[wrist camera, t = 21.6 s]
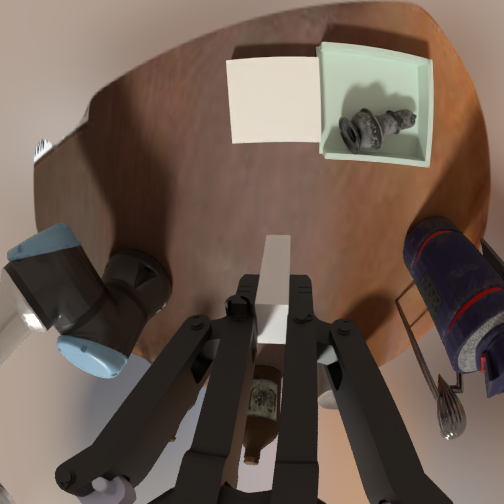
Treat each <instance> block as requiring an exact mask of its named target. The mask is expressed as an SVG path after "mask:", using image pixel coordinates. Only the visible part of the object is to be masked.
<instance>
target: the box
mask: <svg viewBox="0 0 504 504" xmlns="http://www.w3.org/2000/svg"><path fill="white" fill-rule="evenodd" d="M316 56H317V57H319V73H320V96H321V142H319V153H320V154H323V156H324V157H325V159H342V160H359V161H373V162H385V163H395V164H404V165H413V166H421V167H428V168H429V165H430V156H431V145H432V131H433V64H432V60H430V59H426V58H422V57H419V56H415V55H410V54H406V53H402V52H397V51H392V50H387V49H381V48H375V47H368V46H361V45H353V44H344V43H332V42H322V43H321V44H320V46H319V47H316ZM362 108H366V109H369V110H370V111H371V112H372V113H373V114H374V115H381V114H385V113H386V111H388V110H391V111H393V112H394V111H398V110H402V109H408V110H410V111H411V112H412V113H413V114H415V115H417V117H416V119H415V125H414V126H413V127H411V128H408V129H404V130H401V131H400V133H399V134H394V133H393V134H389V135H386V136H385V137H383V146H382V147H381V149H378V150H377V149H367V148H364V147H362V146H360V151H359V153H358V154H357V155H354V154H352V153H351V152H350V151H349V150H348V148H347V147H346V145H345V143H344V141H343V139H342V136H341V134H340V130H339V118H340V117H346V118H347V119H348V120H350V121H351V119H352V117H353V116H354V115H355V114H356V113H357V112H360V110H361V109H362Z"/></svg>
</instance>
